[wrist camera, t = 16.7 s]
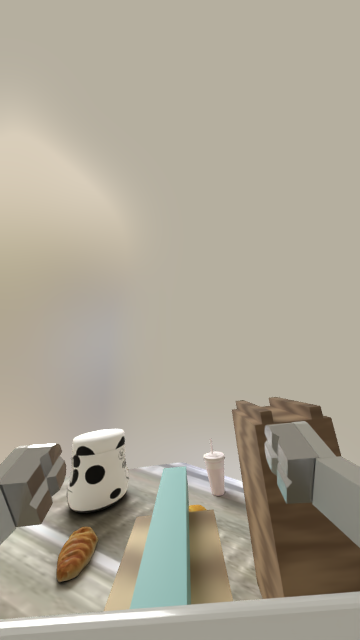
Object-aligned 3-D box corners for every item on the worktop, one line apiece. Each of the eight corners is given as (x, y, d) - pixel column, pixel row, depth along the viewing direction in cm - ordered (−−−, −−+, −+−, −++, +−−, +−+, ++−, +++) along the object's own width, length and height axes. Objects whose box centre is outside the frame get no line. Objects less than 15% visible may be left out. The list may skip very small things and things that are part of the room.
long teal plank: (198, 913, 7) (187, 750, 8) (91, 923, 7) (93, 759, 8) (188, 492, 32) (186, 466, 33) (165, 495, 32) (163, 468, 33)
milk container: (140, 489, 67) (138, 427, 72) (99, 525, 52) (100, 443, 56) (98, 484, 73) (99, 427, 78) (51, 514, 58) (55, 442, 63)
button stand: (413, 706, 20) (332, 404, 28) (304, 717, 20) (252, 412, 28) (322, 576, 34) (284, 396, 41) (257, 582, 34) (230, 401, 41)
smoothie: (216, 484, 66) (210, 435, 69) (233, 491, 61) (226, 437, 65) (202, 493, 61) (197, 440, 65) (220, 501, 57) (213, 443, 61)
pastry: (86, 581, 37) (86, 554, 38) (45, 590, 36) (46, 563, 37) (99, 542, 46) (99, 521, 47) (66, 549, 45) (67, 528, 46)
